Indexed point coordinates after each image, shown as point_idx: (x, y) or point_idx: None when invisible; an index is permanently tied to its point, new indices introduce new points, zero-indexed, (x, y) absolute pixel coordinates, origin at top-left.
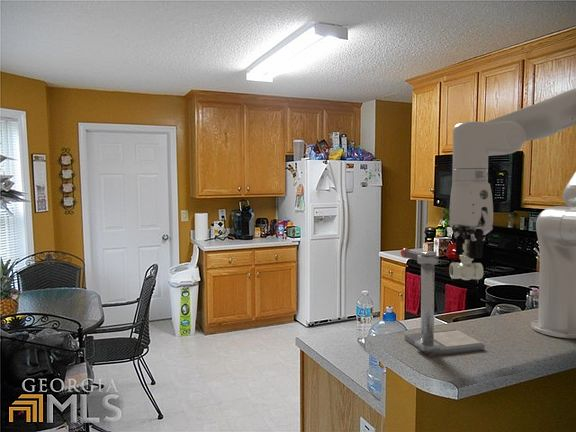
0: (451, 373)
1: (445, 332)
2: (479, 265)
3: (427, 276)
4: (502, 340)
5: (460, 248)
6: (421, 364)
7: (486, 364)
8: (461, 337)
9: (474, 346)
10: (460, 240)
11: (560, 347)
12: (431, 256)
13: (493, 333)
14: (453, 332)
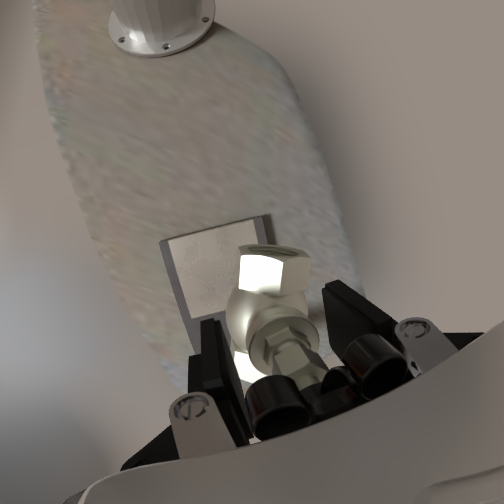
0: None
1: (182, 274)
2: (295, 270)
3: None
4: (205, 150)
5: (239, 385)
6: None
7: (326, 243)
8: (217, 250)
9: (266, 240)
10: (246, 421)
11: (255, 61)
12: None
13: (158, 150)
14: (182, 256)
